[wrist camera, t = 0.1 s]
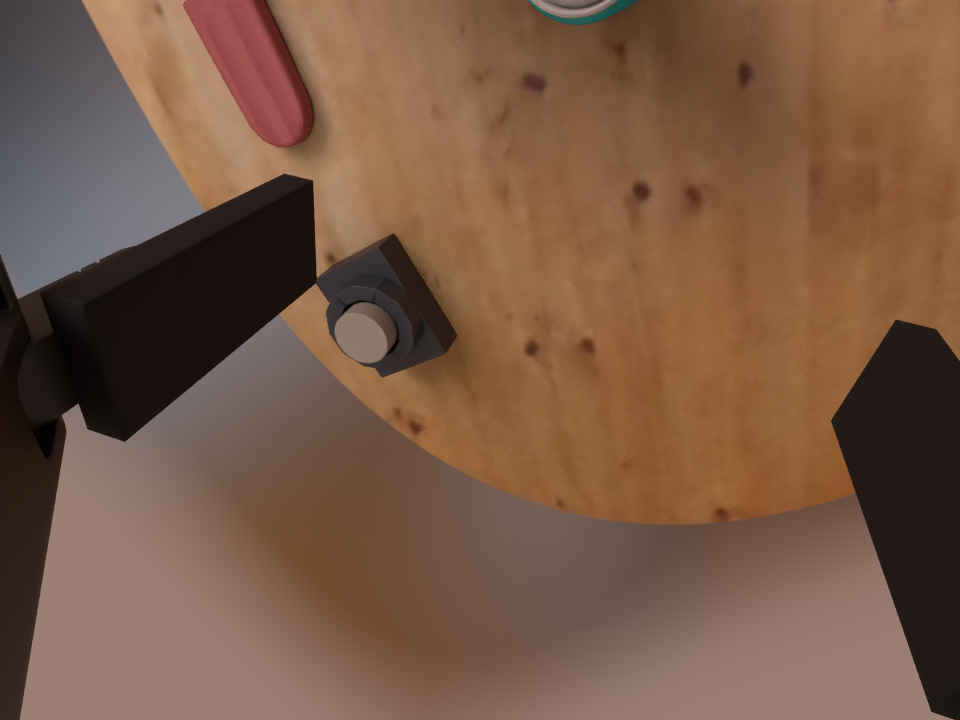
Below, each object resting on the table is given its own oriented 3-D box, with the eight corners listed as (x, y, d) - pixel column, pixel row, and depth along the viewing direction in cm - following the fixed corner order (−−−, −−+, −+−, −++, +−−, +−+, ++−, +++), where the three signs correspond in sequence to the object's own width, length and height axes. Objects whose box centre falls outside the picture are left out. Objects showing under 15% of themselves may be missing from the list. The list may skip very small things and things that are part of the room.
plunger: (335, 313, 46) (323, 324, 44) (377, 293, 44) (365, 305, 42) (366, 357, 47) (356, 370, 46) (408, 340, 45) (398, 353, 44)
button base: (330, 266, 49) (299, 292, 45) (395, 232, 46) (367, 256, 42) (394, 360, 53) (370, 391, 49) (458, 335, 49) (439, 366, 45)
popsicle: (197, -112, 35) (317, 133, 41) (213, -109, 36) (328, 129, 43) (141, -68, 37) (263, 158, 44) (158, -66, 39) (275, 153, 45)
